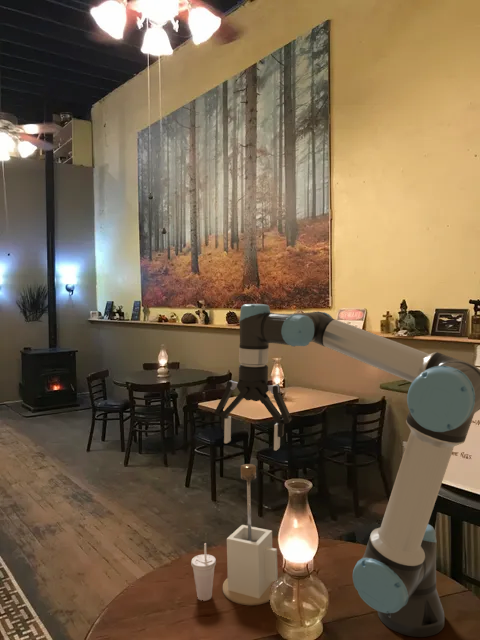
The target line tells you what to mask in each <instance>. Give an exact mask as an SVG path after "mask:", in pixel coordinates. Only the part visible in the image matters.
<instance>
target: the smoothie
mask: <svg viewBox="0 0 480 640" xmlns="http://www.w3.org/2000/svg"><path fill="white" fill-rule="evenodd" d="M203 546H204V547H203V553H204V554H198V555H195V556H194V557H193V558H192V559H191V560H190V561H191V567H192V569H193V570H192V571H193V578H194V583H195V590H196V596H197V597H198V598H197V600H199V601H202V600H203V601H202V602H205V601H209V600H211V599H212V596H213V587H214V586H213V585H214V575H215V566H216V565H217V561H216V557H215V556H214V555H211V554H207V553H208V552H207V543H206V542H205V543H204V544H203Z"/></svg>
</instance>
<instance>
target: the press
mask: <svg viewBox="0 0 480 640" xmlns="http://www.w3.org/2000/svg"><path fill="white" fill-rule="evenodd" d="M251 538H252V540H257V542H251V541H247V540H248V525H245V524H241V525H240V526H239V527H237V529H236V530H234V531H233V533H231V534H230V535H229V536H228V537H227V538H226V558H227V559H226V560H227V562H226V563H227V567H226V569H227V578H226V579H225V580H224V581H223V584H222V593H223V595H224V597H225V598H227V600H228V601H231V602H233V603H235V604H238V605H242V606H243V605H244V606H258V605H262V604H266V603H269V602H270V601H269V591H270V588H271V585H272V584H273V582H274V581H276V580H277V581H278V578H279V577H278V548H274V547H273V530H270V529H265V528H260V527H256V526H251Z"/></svg>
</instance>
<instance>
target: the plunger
mask: <svg viewBox="0 0 480 640" xmlns="http://www.w3.org/2000/svg"><path fill="white" fill-rule="evenodd" d="M240 479H241V480H242V481H246V497H247V498H246V500H247V501H246V503H247V505H246V507H247V509H246V510H247V526H248V540H247V541H251V542H257V540H252V538H251V527H252V505H251V504H252V503H251V502H252V501H251V481H252V480H253V481H254V480H255V479H257V466H256V465H255V464H253V463H245V464H242V465H240Z"/></svg>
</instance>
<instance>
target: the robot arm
mask: <svg viewBox="0 0 480 640" xmlns="http://www.w3.org/2000/svg"><path fill="white" fill-rule="evenodd" d="M270 310H271V309H270V306H269V304H263V303H246V304H245V303H244V304H243V305H241V307H240V313H239V320H238V323H239V345H238V348H239V350H238V352H239V353H238V354H239V355H238V362H239V365H238V381H235V380H234V379H231V380H228V381H226V388H225V391H224V393H223V395H222V397H221V399H220V400H219V403H218V404H217V407H216V408H215V410H214V415H216V416H219V417H220V419H221V420H220V421H221V424H220V425H221V427H220V428H221V430H224V431H223V433H224V434H223V436H224V438H223V443H224V444H228V443H230V442H231V441H232V438H231V437H232V416H229V415H230V414H231V412H232V411H234V409H235V408H236V407H237V406H238V405H239V404H240V403H241V402H242V400H245V401H253V402H259V401H260V403H261V404H263V406H264V408H266V409H267V411H268V413H269V414H270V416H271V417H272V418H273V419H274V421H275V422H276V423H275V424H274V425H273V426H274V429H273V430H274V432H273V451H277V450H279V449H280V446H281V438H282V437H283V436H284V435H285V424H289V423H290V422H291V421H292V415H291V413H290V411H289V409H288V407H287V404H286V402H285V400H284V398H283V395H282V394H281V385H280V384H279V383H277V384H275V385H274V384H273V385H270V384H269V383H268V382H269V381H268V380H269V365H268V363H269V352H270V351H269V345H270V344H277V345H286V346H291V347H307V346H309V344H310V343H315V344H318V345H319V346H322V347H325V348H328V349H330V350H332V351H336V352H337V353H340V354H343V355H345V356H347V357H348V358H349V357H350V358H352V359H354V360H357V361H359V362H361V363H364V364H366V365H369V366H372V367H373V368H377V369H378V370H381V371H383V372H385V373H388V374H391V375H393V376H395V377H397V378H401V379H403V380H405V381H408V382H410V383H411V384H410V386H409V388H408V392H407V396H406V403H407V408H408V412H407V416H406V420H405V423H406V425H407V426H408V428H409V429H410V433H409V434H408V435H409V436H408V438H407V442H406V445H405V448H404V450H403V455H402V458H401V461H400V464H399V468H398V470H397V473H396V477H395V480H394V482H393V486H392V490H391V493H390V496H389V500H388V502H387V505H386V507H385V508H386V509H385V512H384V515H383V518H382V521H381V525H380V527H378V528H377V527H376V528H374V529H372V531H371V533H370V534H369V535H370V536H369V539H368V542H367V545H366V549H365V551H364V553H363V555H362V557H361V558H360V559H359V560H357V562H356V563H355V566H354V568H353V571H352V582H353V587H354V588H355V590H357V592H358V595H359V597H360V598H361V600H362V601H363V602H364V603H365V604H366V605H367V606H369V607H370V608H371V609H374V610H375V611H377V616H378V618H379V619H380V621H381V622H382V623H383V625H385V626H386V627H387V628H388V629H390V630H392V631H394V632H396V633H398V634H401V635H404V636H409V637H414V638H427V637H431V636H432V637H433V636H436V635H438V634H439V633H440V632H442V630H443V628H445V612H444V611H445V610H444V608H443V605H442V604H443V603H442V602H441V598H440V596H439V593H438V590H437V541H438V540H437V538H436V535H437V534H436V530H435V528H434V527H433V526H432V525H431V524H429V523H430V519H431V516H432V513H433V510H434V507H435V505H436V504H435V503H436V501H437V499H438V495H439V492H440V489H441V487H442V483H443V481H444V477H445V475H446V472H447V468H448V465H449V462H450V460H451V456H452V454H453V450H454V447H455V446H458V445H459V446H460V445H461V444H463V443H465V441H466V439H467V435H468V433H469V430H470V427H471V425H472V421H473V419H474V416H475V414H476V413H477V412H478V411H480V368H478V367H477V366H476V365H474V364H473V363H471V362H468V361H465V360H462V359H459V358H457V357H453V356H449V355H446V354H443V353H441V352H437V351H434V352H432V353H427V352H425V351H422V350H420V349H417V348H415V347H412V346H409V345H405V344H403V343H400V342H398V341H395V340H392V339H389V338H386V337H385V336H382V335H379V334H377V333H376V334H375V333H373V332H370V331H368V330H366V329H363V328H360V327H356V326H353V325H351V324H350V323H349V324H348V323H346V322H343V321H341V320H338V319H335V318H333V317H332V316H331V314H329V313H327V312H323V311H312V312H311V311H310V312H300V313H274V312H271V311H270ZM235 389H237V390H238V391H239V393H238V395H237V396H236V397H235V399H233V401H232V402H231V403H230V404H229V405H228V406H227V407H226V405H227V403H228V402H229V399H230V398H231V396H232V393H233V391H234V390H235ZM268 391H270V393H271V394H272V395H273V398H274V401H275V403H276V406H277V407H276V406H275V404H274V403H273V402H272V400H271V399H270V397H269V395H268V394H267V393H268ZM225 407H226V408H225ZM277 408H278V409H277ZM224 409H225V410H224Z"/></svg>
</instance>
